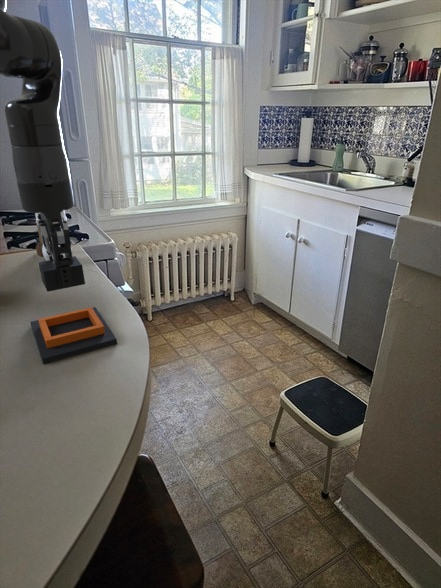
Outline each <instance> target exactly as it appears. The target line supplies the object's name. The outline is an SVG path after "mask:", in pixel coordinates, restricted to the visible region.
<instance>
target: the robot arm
mask: <svg viewBox="0 0 441 588" xmlns="http://www.w3.org/2000/svg"><path fill="white" fill-rule="evenodd" d="M7 5H8V2H7V0H0V76H2V77H4V78H12V79H22V80H21V91H20V96H19V97H15V98H12V99H10V100H8V101H7V102H5V104H4V107H3V114H4V119H5V123H6V129H7V133H8V138H9V143H10V145H11V146H10V149H11V158H12V159H11V160H12V167H13V170H14V175H15V181H16V185H17V189H18V195H19V198H20V199H19V200H20V204H21V208H22V209H23V211H25V212H27V213H32V214H35V213H40V214H38V216H37V217H38V219H39V220H37V223H38V228H39V230H40V232H41V238H42V242H43V244H44V247H45V249H47V251H46V253H47V254H48V256H49V255H51V256H49V259H50V260H53V265H54V266H55V270H56V275H57V280H58V285H59V287H60V288H61V289H60V290H63V288H64V289H68V287H69V288H73V287H72V286H73V279H72V273H71V267H70V265H73V259H72V257H73V250H72V251H71V249H72V244H71V236H70V235H71V233H70V231H69V229H70V228H69V225H68V220H67V221H64V218H63V217H62V216H61V212H62V211H63V210H65V211H69V210H70V209H72V208H73V207H74V206H75V196H74V191H73V184H72V178H71V177H72V176H71V173H70V172H71V171H70V165H69V160H68V157H67V153H66V149H65V145H64V139H63V133H62V126H61V121H60V115H59V112H60V103H61V93H62V80H63V79H62V78H63V58H62V52H61V50H60V46H59V43H58V40H56V37H55V36H54V34H53V32H52V31H51V29H49V28H48V26H46V25H45V24H44V23H41V22H40V21H37V20H36V21H35V20H33V19H29V18H25V17H20V16H17V15H14V14H9V13H7V12H6V11H7ZM37 223H36V224H37ZM38 228H37V229H38ZM63 253H65V256H66V258H64V256H63Z"/></svg>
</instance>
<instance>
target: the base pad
mask: <svg viewBox="0 0 441 588" xmlns="http://www.w3.org/2000/svg"><path fill="white" fill-rule="evenodd" d="M30 325H31V326H30V327H31V330H32V332H33V336H34V339H35V343H36V345H37V350H38V352H39V356H40V359H41V362H42V365H45V364H49V363H54V362H57V361H59V360H63V359H67V358H71V357H74V356H78V355H81V354H85V353H88V352H92V351H96V350H99V349H103V348H107V347H111V346H115V345H118V338H117V337H116V336H115V334H114V333H113V331H112V330H111V328H110V326H109V325H108V324H107V322H106V320H105V319H104V318H103V316H102V314H101V313H100V312H99V310H98V308H97V306H94V307H93V306H91V307H86V308H82V309H78V310H73V311H68V312H64V313H60V314H55V315H50V316H46V317H42V318H38V319H37V320H31V321H30Z"/></svg>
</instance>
